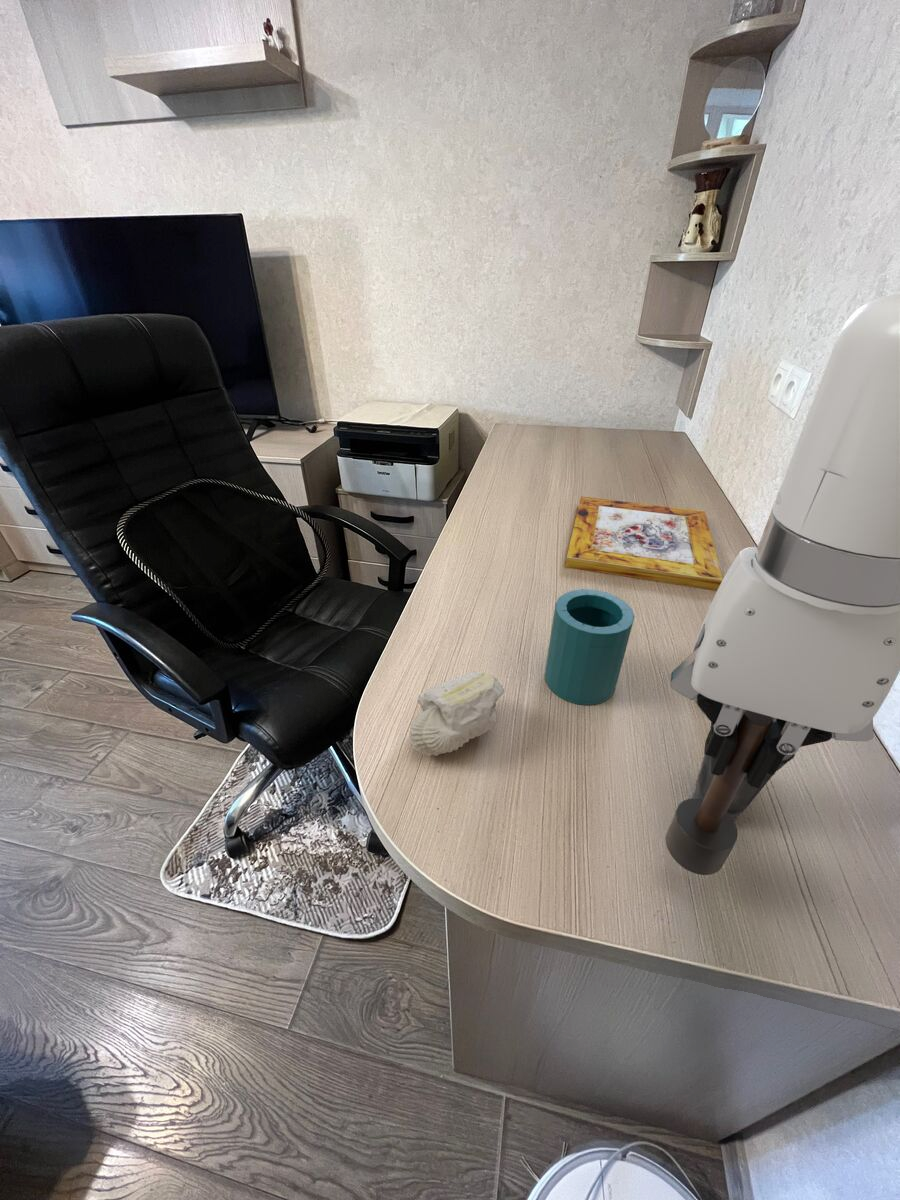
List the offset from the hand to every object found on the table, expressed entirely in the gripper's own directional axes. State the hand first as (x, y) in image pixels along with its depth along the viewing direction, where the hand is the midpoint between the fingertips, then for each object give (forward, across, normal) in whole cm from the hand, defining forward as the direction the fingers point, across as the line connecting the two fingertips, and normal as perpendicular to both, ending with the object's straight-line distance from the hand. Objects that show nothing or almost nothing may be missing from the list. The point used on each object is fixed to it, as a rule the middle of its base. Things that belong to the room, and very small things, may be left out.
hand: (734, 765), depth 38 cm
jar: (+17, +15, -23) cm, 32 cm away
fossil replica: (+17, +27, -7) cm, 32 cm away
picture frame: (+17, +13, -69) cm, 72 cm away
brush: (+12, 0, 0) cm, 12 cm away
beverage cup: (+17, -3, -10) cm, 20 cm away
